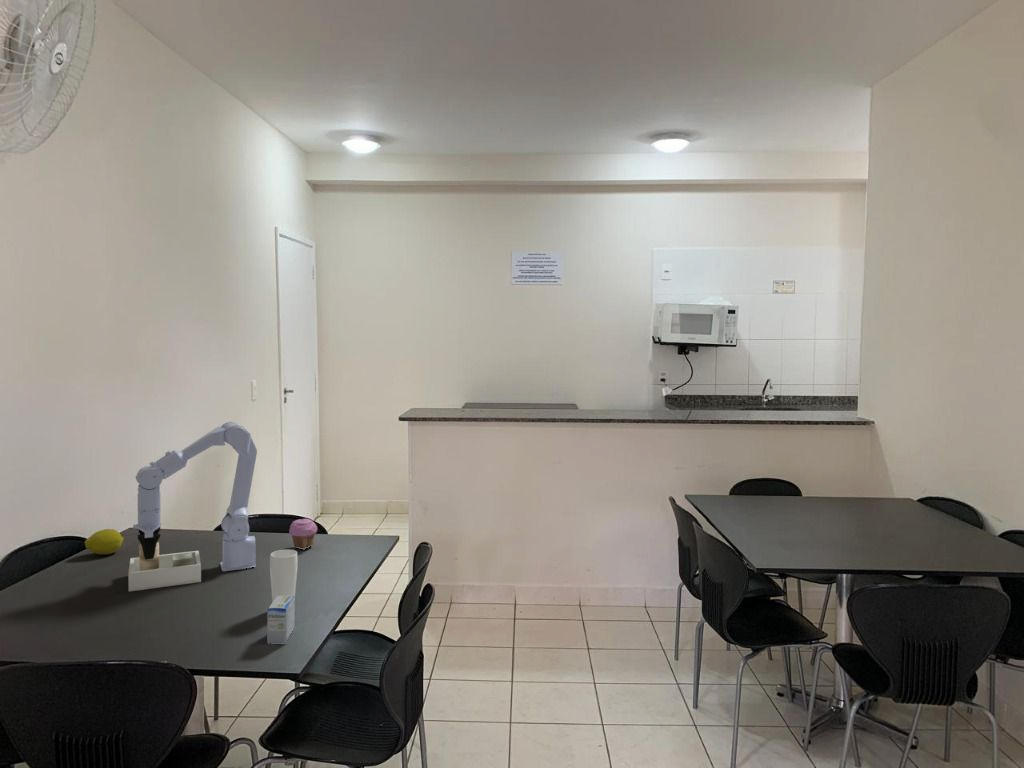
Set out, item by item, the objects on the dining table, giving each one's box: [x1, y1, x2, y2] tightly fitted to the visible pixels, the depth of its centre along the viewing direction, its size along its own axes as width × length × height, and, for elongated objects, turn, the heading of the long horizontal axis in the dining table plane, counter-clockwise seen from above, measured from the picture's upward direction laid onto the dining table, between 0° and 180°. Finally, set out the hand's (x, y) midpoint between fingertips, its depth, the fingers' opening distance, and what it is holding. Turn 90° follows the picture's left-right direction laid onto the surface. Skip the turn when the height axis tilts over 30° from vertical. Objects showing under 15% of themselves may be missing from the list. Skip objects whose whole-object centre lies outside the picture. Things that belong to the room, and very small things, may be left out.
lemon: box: [84, 528, 125, 556], centre depth 211 cm, size 11×8×8 cm
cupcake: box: [288, 518, 318, 548], centre depth 222 cm, size 9×9×10 cm
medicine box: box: [266, 595, 296, 644], centre depth 156 cm, size 8×4×9 cm, turn 5°
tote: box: [127, 550, 202, 592], centre depth 192 cm, size 18×14×5 cm
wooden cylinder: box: [138, 541, 160, 571], centre depth 189 cm, size 5×5×7 cm
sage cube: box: [173, 553, 192, 567], centre depth 194 cm, size 5×5×5 cm
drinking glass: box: [269, 549, 299, 602], centre depth 171 cm, size 7×7×15 cm
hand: (149, 555), depth 189 cm, fingers closed on wooden cylinder, 5 cm apart
